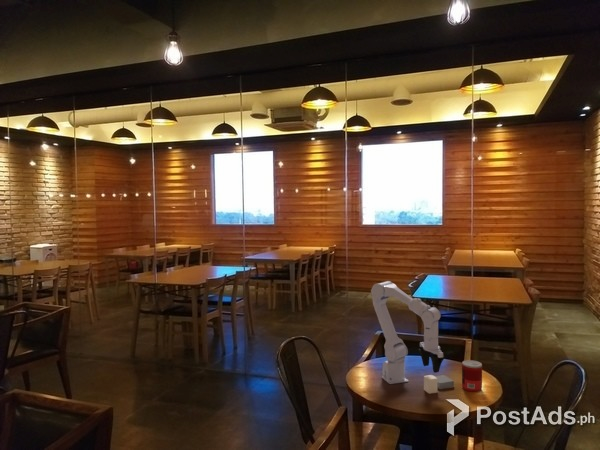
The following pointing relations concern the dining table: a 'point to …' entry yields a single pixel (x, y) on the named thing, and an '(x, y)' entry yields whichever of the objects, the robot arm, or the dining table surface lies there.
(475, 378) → the canned food
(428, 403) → the dining table surface
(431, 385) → the cream block
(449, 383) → the grey square block
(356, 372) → the dining table surface
